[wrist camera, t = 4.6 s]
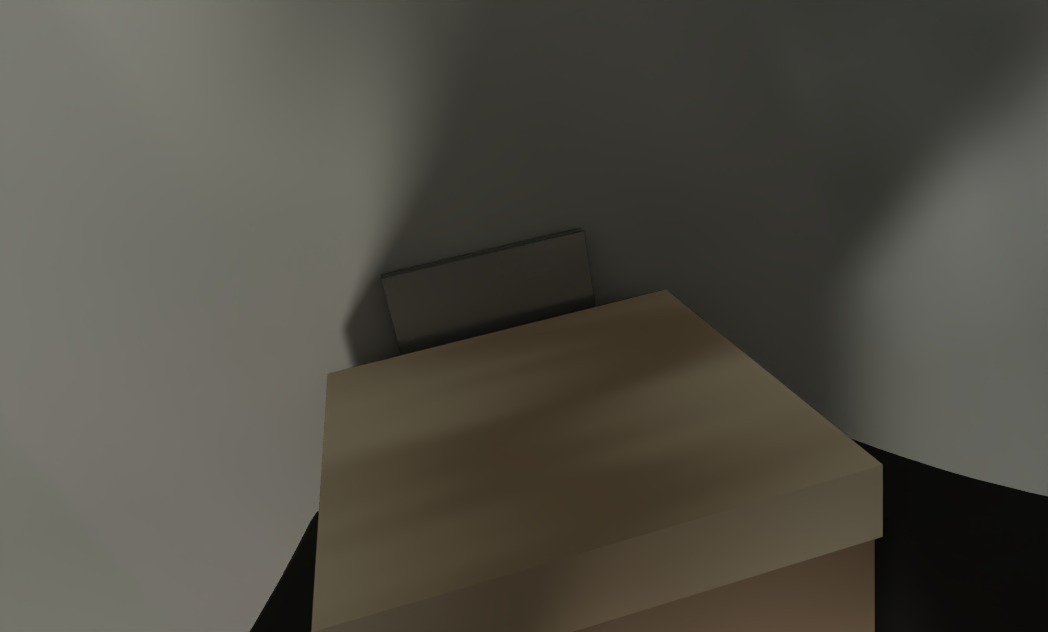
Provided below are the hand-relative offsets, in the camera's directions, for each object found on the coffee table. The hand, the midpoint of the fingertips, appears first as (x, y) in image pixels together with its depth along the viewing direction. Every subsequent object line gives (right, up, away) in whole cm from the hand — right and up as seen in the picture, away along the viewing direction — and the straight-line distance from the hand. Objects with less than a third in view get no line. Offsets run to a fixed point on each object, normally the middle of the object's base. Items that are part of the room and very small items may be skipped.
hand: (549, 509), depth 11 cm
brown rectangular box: (0, -3, +3) cm, 4 cm away
